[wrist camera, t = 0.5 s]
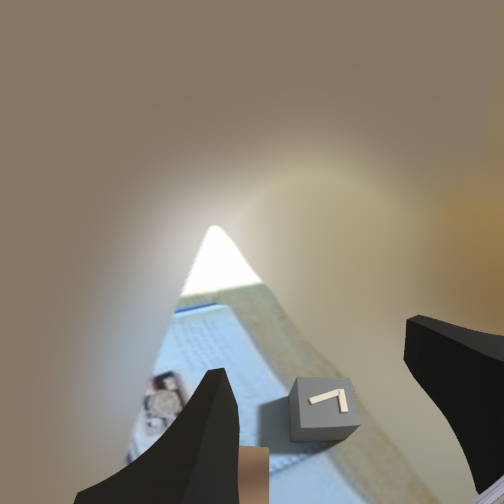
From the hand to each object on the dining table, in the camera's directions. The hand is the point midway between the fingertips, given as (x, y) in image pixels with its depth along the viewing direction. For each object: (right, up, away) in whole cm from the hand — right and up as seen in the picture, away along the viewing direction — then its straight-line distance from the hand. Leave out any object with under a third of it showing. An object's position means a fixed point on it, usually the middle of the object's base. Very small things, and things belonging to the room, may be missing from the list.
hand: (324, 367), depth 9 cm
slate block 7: (+4, -14, +16) cm, 22 cm away
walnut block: (-5, -17, +9) cm, 19 cm away
